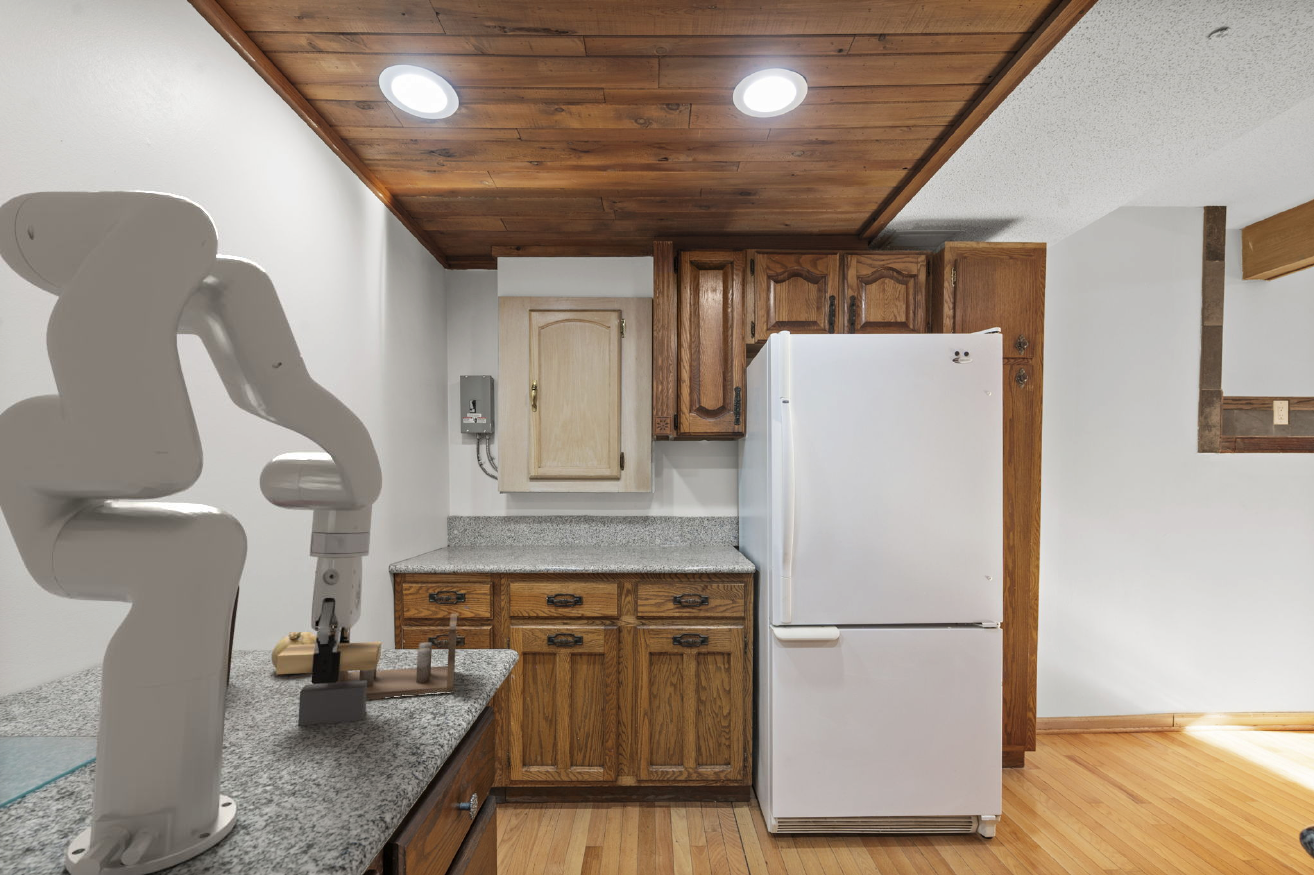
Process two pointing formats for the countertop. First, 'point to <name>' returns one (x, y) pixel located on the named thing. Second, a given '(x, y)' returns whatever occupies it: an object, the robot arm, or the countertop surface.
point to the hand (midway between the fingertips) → (330, 674)
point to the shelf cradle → (410, 674)
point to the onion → (292, 643)
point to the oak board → (350, 657)
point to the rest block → (332, 702)
